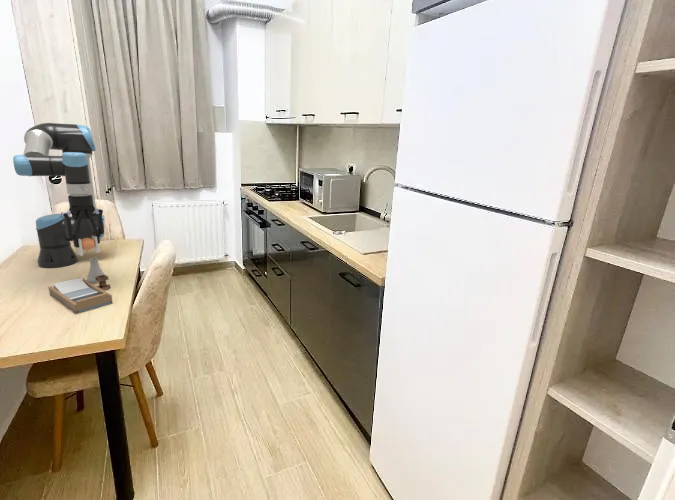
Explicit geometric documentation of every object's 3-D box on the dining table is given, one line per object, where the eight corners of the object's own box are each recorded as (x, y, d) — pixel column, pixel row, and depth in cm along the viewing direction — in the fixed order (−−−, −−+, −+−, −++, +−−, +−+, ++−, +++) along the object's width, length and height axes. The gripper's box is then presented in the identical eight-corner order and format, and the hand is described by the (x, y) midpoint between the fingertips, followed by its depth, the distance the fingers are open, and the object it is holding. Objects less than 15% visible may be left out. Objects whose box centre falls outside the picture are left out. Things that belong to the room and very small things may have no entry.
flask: (110, 279, 157) (107, 257, 154) (95, 284, 151) (91, 262, 148) (98, 276, 159) (95, 255, 157) (82, 281, 153) (79, 259, 150)
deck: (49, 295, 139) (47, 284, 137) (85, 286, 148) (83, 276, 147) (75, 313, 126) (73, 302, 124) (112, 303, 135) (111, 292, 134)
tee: (93, 288, 147) (92, 276, 145) (107, 285, 151) (105, 273, 149) (99, 291, 144) (97, 279, 143) (112, 288, 148) (111, 276, 147)
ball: (80, 251, 141) (74, 239, 139) (93, 246, 145) (88, 234, 143) (86, 253, 139) (81, 241, 137) (99, 248, 142) (94, 236, 140)
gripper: (56, 198, 126) (66, 260, 133) (110, 193, 140) (117, 250, 147) (47, 195, 130) (57, 256, 136) (100, 191, 144) (108, 246, 151)
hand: (88, 253), depth 142 cm, fingers closed on ball, 5 cm apart
